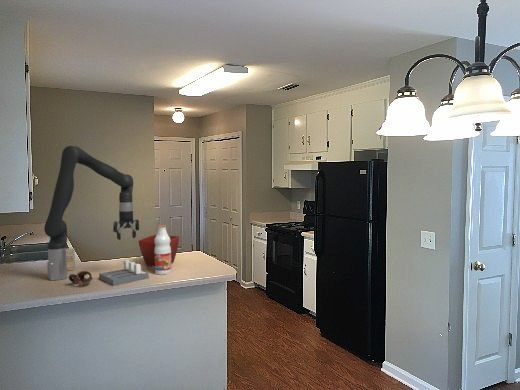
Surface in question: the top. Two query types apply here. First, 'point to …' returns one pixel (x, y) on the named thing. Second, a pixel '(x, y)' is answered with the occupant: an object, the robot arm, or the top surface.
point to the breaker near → (137, 268)
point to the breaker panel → (122, 276)
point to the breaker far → (126, 264)
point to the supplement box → (70, 259)
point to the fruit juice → (162, 251)
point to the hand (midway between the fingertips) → (126, 238)
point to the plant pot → (149, 245)
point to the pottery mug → (80, 278)
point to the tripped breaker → (131, 266)
